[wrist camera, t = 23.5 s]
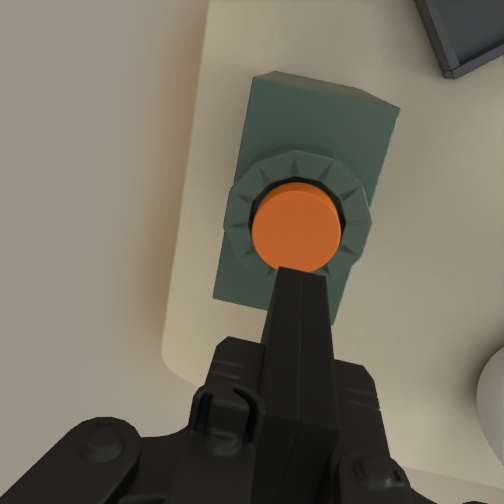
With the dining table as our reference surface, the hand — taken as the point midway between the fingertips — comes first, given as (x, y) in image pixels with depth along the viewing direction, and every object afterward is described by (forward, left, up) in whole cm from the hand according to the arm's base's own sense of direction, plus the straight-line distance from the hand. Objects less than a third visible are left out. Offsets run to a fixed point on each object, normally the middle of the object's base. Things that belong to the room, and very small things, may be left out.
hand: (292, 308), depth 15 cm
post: (0, 0, -26) cm, 26 cm away
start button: (0, 0, -8) cm, 8 cm away
